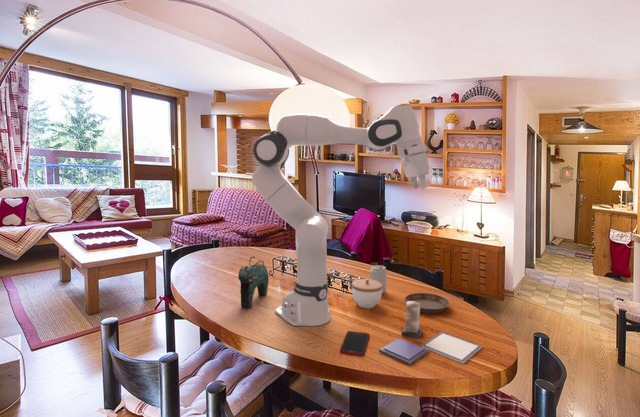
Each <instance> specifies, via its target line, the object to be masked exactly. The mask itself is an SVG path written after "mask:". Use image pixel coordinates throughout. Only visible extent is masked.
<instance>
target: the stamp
mask: <svg viewBox="0 0 640 417" xmlns="http://www.w3.org/2000/svg"><path fill="white" fill-rule="evenodd" d="M405 307H406V308H405V321H404V322H405V324H404V326H403V327H402V330H401V332H400V333H401V334H400V335H401V336H402V337H407V338H411V339H417V340H420V338H421V337H422V336H421V335H422V333H423V327H420V317H421V312H420V303H419V302H416V301H408V302H407V303H406V306H405Z"/></svg>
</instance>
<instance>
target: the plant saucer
mask: <svg viewBox="0 0 640 417" xmlns="http://www.w3.org/2000/svg"><path fill="white" fill-rule="evenodd" d="M404 300H405V303H406V304H407V302H408V301H416V302H419V303H420V313H423V312H424V314H438V313H442V312H444V311H445V310H446V309H447V308H448V306H449V305H450V301H449V300H448V299H447V298H445V297H443V296H441V295H439V294H434V293H426V292H414V293H410V294H407V295H406V296H405V297H404Z"/></svg>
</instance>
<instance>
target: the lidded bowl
mask: <svg viewBox="0 0 640 417" xmlns="http://www.w3.org/2000/svg"><path fill="white" fill-rule="evenodd" d="M351 287H352V288H351V293H352V299H353V300H354V302H355V303H356V304H357V306H359V307H360V308H362V309H372V308H375V307H376V305H377V304H379V302H380V301H381V298H382V295H383V294H382V287H383V285H382V283H380V282H378V281H375V280H370V278H362V279H356V280H353V281H352V283H351Z"/></svg>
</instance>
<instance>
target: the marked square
mask: <svg viewBox="0 0 640 417" xmlns="http://www.w3.org/2000/svg"><path fill="white" fill-rule="evenodd" d="M420 347H423V348H425V349H428V350H429V351H430V352H432V353H433V352H434V353H436V354H438V355H440V356H444V357H445V358H448V359H450V360H452V361H455V362H457V363H461V364H465V363H466V362H467V361H468V360H470V358H471V357H472V356H474V355H475V354H476V353H478V352H479V351H480V350H481V349H482V348H483V345H482V344H481V345H480V344H477V343H476V342H472V341H469V340H468V339H464V338H461V337H458V336H456V335H453V334H449V333H448V332H444V331H440V332H438V333H437V334H436V335H434V336H432V337H430V338H429V339H428V340H427V341H425V342H423V343H422V344H421V345H420Z"/></svg>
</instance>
